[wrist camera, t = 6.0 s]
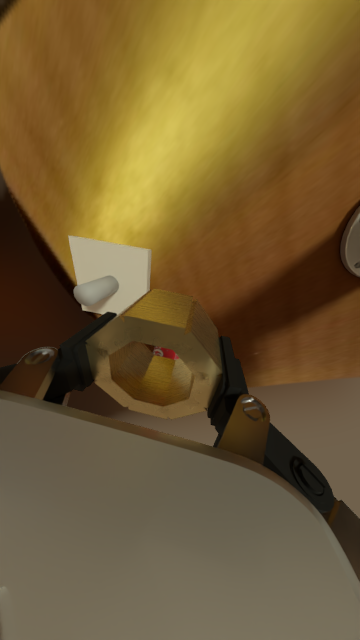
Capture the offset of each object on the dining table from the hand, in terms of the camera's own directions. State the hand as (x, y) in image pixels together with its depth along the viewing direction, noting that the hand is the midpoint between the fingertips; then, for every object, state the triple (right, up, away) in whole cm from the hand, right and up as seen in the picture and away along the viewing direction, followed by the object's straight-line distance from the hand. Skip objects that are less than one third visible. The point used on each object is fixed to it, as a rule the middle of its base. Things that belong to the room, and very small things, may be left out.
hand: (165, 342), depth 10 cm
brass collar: (0, 0, +1) cm, 1 cm away
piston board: (-11, +9, +16) cm, 21 cm away
